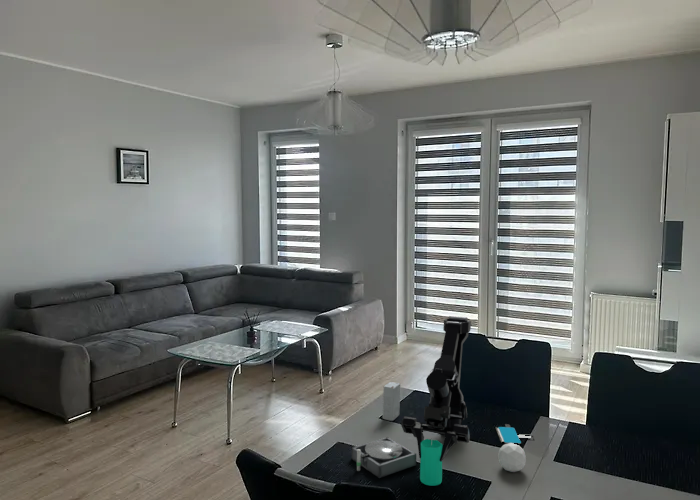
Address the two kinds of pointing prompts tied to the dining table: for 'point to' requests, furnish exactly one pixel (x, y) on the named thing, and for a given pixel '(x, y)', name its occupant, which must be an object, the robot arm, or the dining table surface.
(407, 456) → the scale housing
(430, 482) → the candle
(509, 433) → the phone stand
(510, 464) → the geometric ball
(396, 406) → the skincare box
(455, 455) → the dining table surface
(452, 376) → the robot arm
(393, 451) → the scale pan
